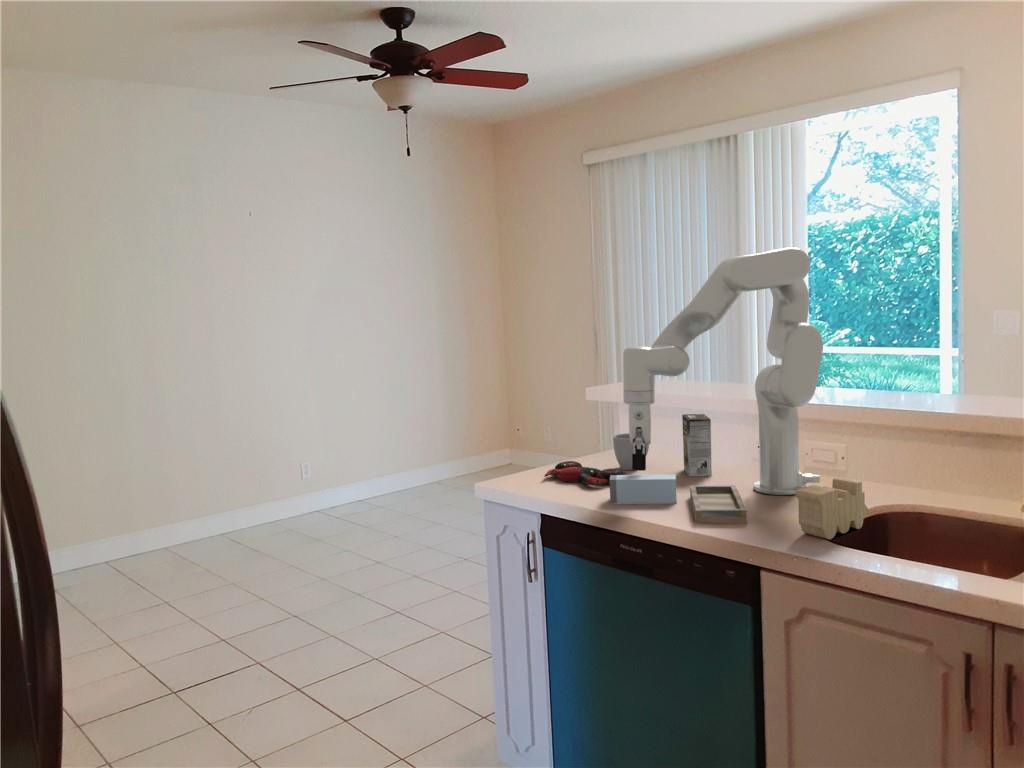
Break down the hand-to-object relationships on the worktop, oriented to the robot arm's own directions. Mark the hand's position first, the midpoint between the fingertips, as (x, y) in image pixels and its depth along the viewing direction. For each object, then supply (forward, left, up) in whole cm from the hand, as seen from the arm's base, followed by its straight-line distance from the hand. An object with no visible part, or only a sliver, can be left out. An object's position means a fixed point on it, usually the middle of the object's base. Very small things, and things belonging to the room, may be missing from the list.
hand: (639, 465), depth 193 cm
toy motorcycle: (+17, -23, -9) cm, 30 cm away
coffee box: (-16, -30, -9) cm, 35 cm away
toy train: (-40, +25, -9) cm, 48 cm away
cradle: (-18, +8, -9) cm, 21 cm away
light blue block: (-1, 0, -9) cm, 9 cm away
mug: (+2, -38, -9) cm, 39 cm away
